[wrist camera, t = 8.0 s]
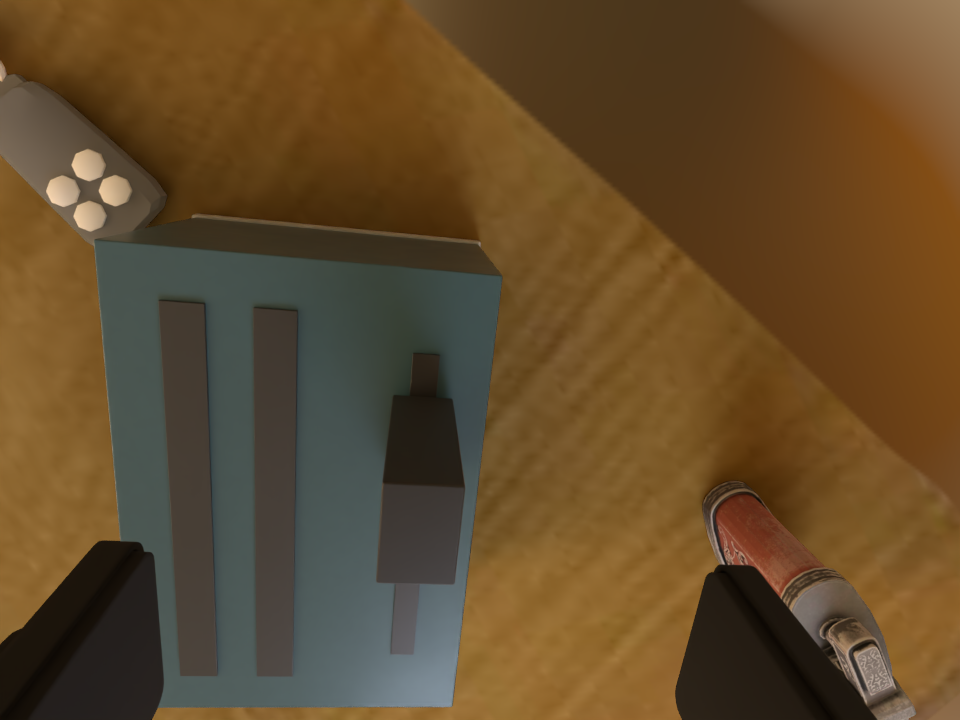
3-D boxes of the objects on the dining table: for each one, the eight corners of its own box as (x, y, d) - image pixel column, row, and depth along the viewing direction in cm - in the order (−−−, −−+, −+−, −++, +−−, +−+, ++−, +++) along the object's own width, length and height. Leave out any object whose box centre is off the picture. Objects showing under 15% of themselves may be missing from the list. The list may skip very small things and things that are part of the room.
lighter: (799, 584, 32) (961, 760, 22) (742, 612, 32) (878, 798, 22) (750, 468, 29) (909, 612, 20) (688, 500, 29) (816, 657, 20)
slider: (453, 397, 18) (465, 485, 13) (445, 475, 19) (454, 586, 14) (392, 394, 18) (381, 481, 13) (387, 472, 18) (375, 584, 13)
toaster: (480, 240, 25) (507, 272, 17) (446, 570, 29) (455, 712, 22) (196, 213, 23) (85, 235, 15) (209, 563, 28) (130, 712, 20)
